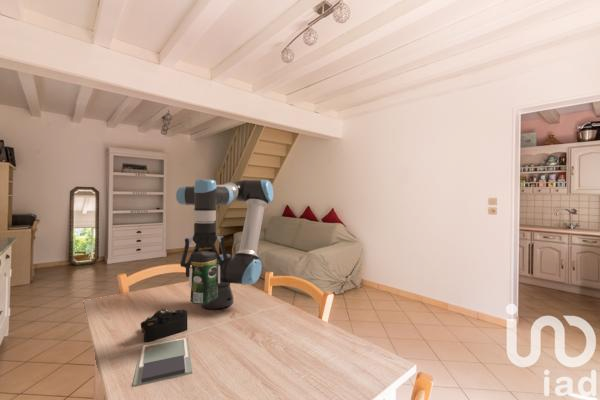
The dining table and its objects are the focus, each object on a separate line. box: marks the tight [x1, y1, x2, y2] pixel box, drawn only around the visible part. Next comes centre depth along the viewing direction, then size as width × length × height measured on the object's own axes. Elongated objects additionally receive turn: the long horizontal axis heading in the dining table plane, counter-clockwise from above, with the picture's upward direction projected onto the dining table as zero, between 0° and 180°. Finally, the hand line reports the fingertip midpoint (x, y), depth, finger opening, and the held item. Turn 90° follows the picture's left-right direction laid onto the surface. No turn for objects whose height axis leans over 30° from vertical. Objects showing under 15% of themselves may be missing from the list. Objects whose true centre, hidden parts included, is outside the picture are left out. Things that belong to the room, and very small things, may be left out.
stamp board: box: [132, 337, 193, 387], centre depth 88 cm, size 15×22×1 cm
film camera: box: [140, 308, 188, 343], centre depth 104 cm, size 18×12×10 cm
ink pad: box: [140, 355, 187, 383], centre depth 82 cm, size 12×8×1 cm
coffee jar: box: [190, 248, 218, 306], centre depth 101 cm, size 10×8×19 cm
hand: (204, 283), depth 101 cm, fingers closed on coffee jar, 9 cm apart
